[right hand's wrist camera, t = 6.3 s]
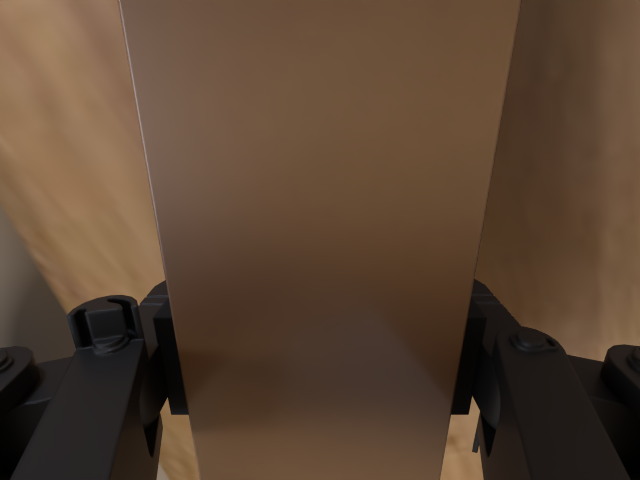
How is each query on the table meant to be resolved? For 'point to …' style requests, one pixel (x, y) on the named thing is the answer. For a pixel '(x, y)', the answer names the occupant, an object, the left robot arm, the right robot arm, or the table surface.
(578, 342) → the table surface
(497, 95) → the beam
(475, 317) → the right robot arm
